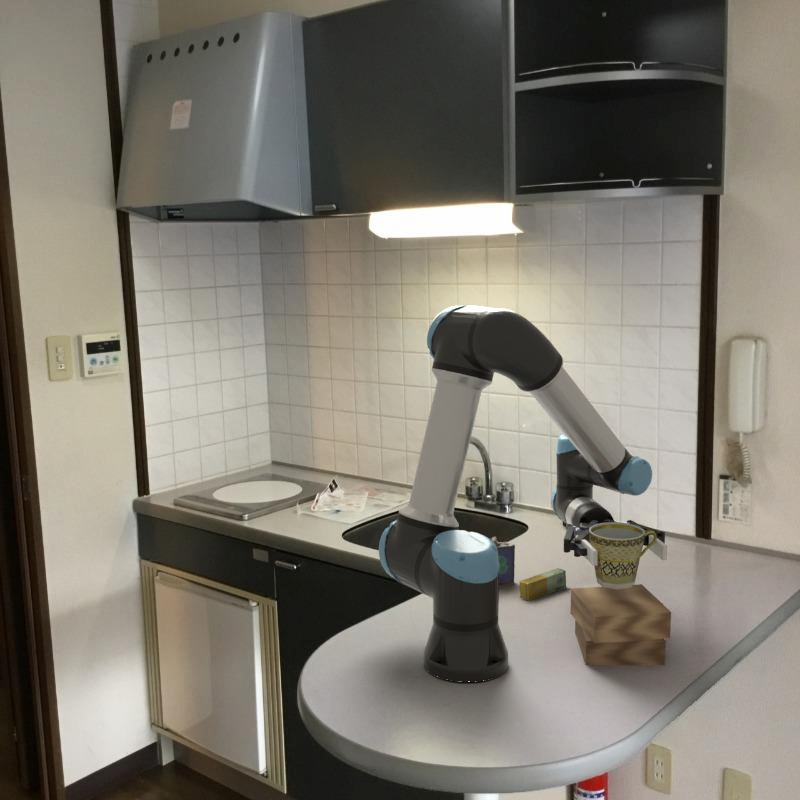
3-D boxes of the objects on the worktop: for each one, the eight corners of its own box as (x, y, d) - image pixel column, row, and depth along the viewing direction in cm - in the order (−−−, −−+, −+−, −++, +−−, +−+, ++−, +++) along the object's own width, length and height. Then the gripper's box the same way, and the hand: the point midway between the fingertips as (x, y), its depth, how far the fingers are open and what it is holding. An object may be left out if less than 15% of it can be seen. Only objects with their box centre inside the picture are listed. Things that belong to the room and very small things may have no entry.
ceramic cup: (603, 596, 172) (604, 541, 170) (578, 576, 182) (579, 525, 180) (669, 587, 175) (670, 534, 174) (641, 568, 185) (642, 518, 183)
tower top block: (594, 643, 172) (595, 616, 172) (570, 613, 186) (571, 588, 185) (670, 638, 174) (671, 612, 173) (640, 608, 188) (641, 584, 187)
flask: (477, 589, 212) (477, 542, 210) (472, 585, 215) (472, 538, 213) (516, 584, 215) (516, 537, 213) (510, 579, 217) (511, 533, 216)
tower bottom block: (585, 667, 175) (586, 640, 174) (575, 635, 188) (575, 610, 188) (664, 667, 174) (665, 640, 173) (648, 635, 188) (648, 610, 187)
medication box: (557, 584, 214) (557, 567, 214) (566, 587, 212) (566, 570, 212) (519, 598, 207) (518, 580, 206) (528, 601, 205) (528, 583, 204)
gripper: (647, 534, 198) (694, 570, 177) (530, 542, 195) (564, 580, 174) (648, 498, 197) (695, 531, 176) (530, 506, 193) (564, 540, 172)
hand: (630, 555), depth 175 cm, fingers closed on ceramic cup, 12 cm apart
